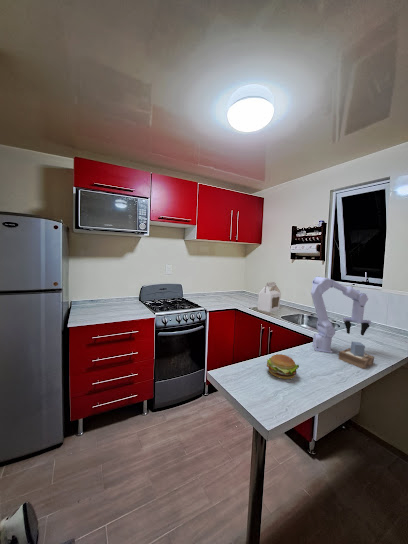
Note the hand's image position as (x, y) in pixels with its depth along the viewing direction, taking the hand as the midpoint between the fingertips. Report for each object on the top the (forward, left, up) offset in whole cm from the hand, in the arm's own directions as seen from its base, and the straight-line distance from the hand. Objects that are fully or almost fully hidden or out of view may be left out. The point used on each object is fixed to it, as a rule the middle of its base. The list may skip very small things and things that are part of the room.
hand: (355, 334), depth 137 cm
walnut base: (-5, -16, -10) cm, 20 cm away
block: (-5, -16, -6) cm, 18 cm away
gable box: (-44, +88, -11) cm, 99 cm away
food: (-47, -43, -11) cm, 65 cm away
